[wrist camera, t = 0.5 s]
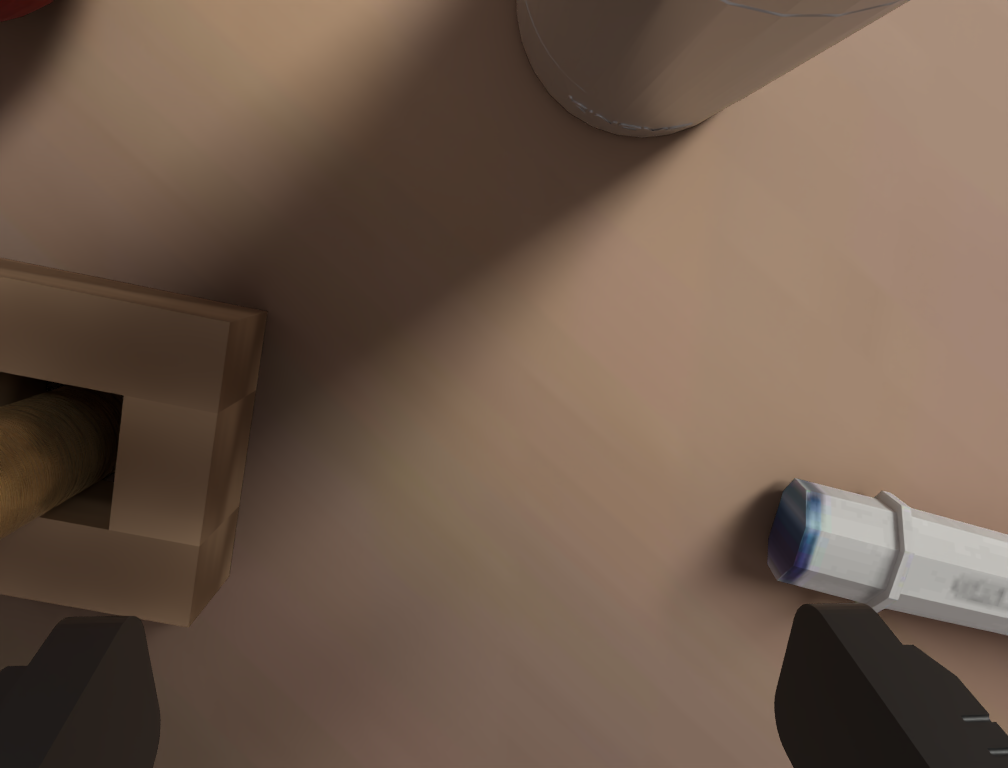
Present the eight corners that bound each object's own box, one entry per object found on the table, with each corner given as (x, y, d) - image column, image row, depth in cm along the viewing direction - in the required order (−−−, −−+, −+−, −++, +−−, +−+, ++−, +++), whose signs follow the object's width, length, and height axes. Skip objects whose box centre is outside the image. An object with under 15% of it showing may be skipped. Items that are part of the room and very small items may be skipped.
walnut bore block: (-28, 252, 27) (-117, 253, 23) (267, 311, 27) (230, 322, 24) (-47, 526, 29) (-132, 570, 25) (229, 576, 29) (188, 627, 26)
